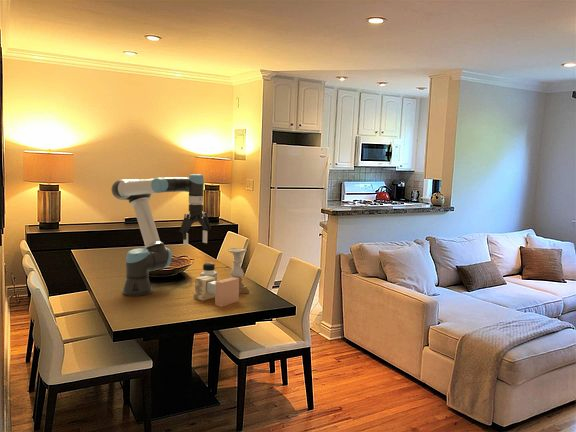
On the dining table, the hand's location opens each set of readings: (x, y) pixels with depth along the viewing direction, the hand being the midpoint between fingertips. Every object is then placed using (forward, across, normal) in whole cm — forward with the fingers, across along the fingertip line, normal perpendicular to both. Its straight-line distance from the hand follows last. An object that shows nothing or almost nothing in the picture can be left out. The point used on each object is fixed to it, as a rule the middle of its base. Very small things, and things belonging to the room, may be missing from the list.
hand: (195, 244), depth 259 cm
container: (+29, +23, +13) cm, 39 cm away
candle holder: (+29, +24, -8) cm, 38 cm away
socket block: (+29, +4, -20) cm, 35 cm away
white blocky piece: (+29, +4, -4) cm, 29 cm away
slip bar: (+24, +4, -13) cm, 28 cm away
